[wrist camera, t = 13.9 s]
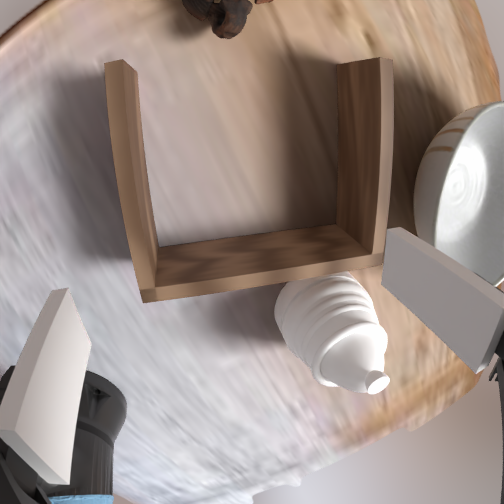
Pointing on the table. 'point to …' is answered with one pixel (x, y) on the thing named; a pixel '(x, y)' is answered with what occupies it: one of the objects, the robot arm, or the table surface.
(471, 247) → the decorative bowl
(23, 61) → the table surface
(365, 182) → the walnut u-shaped frame
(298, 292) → the honey pot
